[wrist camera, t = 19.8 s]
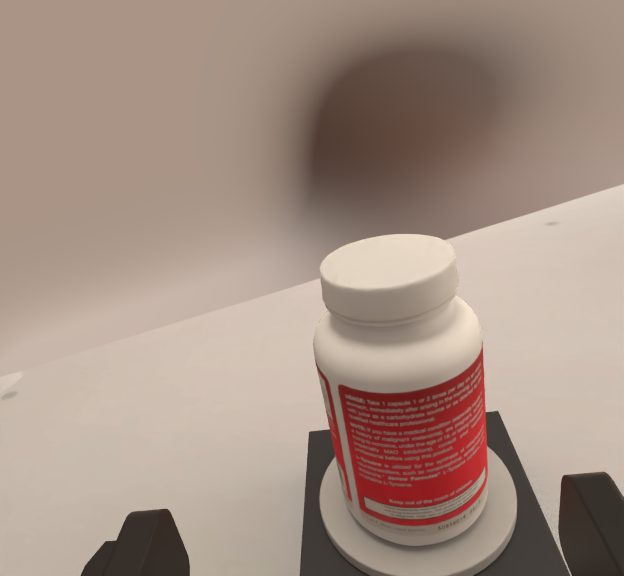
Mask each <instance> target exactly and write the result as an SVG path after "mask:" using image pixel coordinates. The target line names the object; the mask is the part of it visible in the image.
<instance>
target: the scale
mask: <svg viewBox="0 0 624 576" xmlns="http://www.w3.org/2000/svg"><path fill="white" fill-rule="evenodd" d="M485 414H486V437H487V459H488V495H487V500H486V503H485V506H484V508H483V510H482V512H481V514H480V515H479V517H478V518H477V519H476V521H475V522H474V523H473V524H472V525H471V526H470V527H469V528H468V529H466V530H465V531H464V532H462V533H461V534H459V535H457V536H455V537H453V538H451V539H449V540H446V541H443V542H440V543H436V544H430V545H423V546H407V545H402V544H397V543H394V542H390V541H388V540H385V539H383V538H381V537H379V536H377V535H375V534H373V533H372V532H370V531H369V530H367V529H366V528H365V527H364V526H362V525H361V524H360V523H359V522H358V520H357V519H356V518H355V517H354V516H353V514H352V513H351V511H350V509H349V508H348V505H347V503H346V500H345V497H344V494H343V490H342V485H341V481H340V476H339V471H338V467H337V462H336V456H335V451H334V446H333V441H332V437H331V432H330V430H321V431H311V432H309V441H308V457H307V472H306V487H305V503H304V518H303V534H302V549H301V565H300V576H570V574H569V572H568V569H567V567H566V565H565V563H564V560H563V558H562V556H561V553H560V551H559V549H558V547H557V544H556V542H555V540H554V537H553V535H552V533H551V531H550V528H549V526H548V524H547V521H546V519H545V517H544V515H543V512H542V510H541V508H540V505H539V503H538V501H537V499H536V496H535V494H534V492H533V490H532V487H531V485H530V483H529V480H528V478H527V476H526V474H525V471H524V469H523V467H522V464H521V462H520V460H519V458H518V455H517V453H516V451H515V448H514V446H513V444H512V442H511V439H510V437H509V435H508V432H507V430H506V428H505V426H504V423H503V421H502V419H501V416H500V414H499V412H498V411H494V412H485Z"/></svg>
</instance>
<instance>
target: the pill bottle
mask: <svg viewBox="0 0 624 576" xmlns="http://www.w3.org/2000/svg"><path fill="white" fill-rule="evenodd" d="M320 278H321V285H322V296H323V301H324V302H325V305H326V307H327V309H328V311H327V312H326V313H325V314H324V316H323V317H322V319H321V320H320V322H319V324H318V326H317V328H316V331H315V334H314V342H313V347H314V354H315V361H316V366H317V370H318V375H319V379H320V384H321V389H322V393H323V398H324V403H325V408H326V413H327V417H328V422H329V427H330V432H331V437H332V441H333V446H334V451H335V456H336V462H337V467H338V471H339V476H340V481H341V485H342V490H343V494H344V497H345V500H346V503H347V505H348V508H349V509H350V511H351V513H352V514H353V516H354V517H355V518H356V519H357V520H358V522H359V523H360V524H361V525H362V526H364V527H365V528H366V529H367V530H369V531H370V532H372V533H373V534H375V535H377V536H379V537H381V538H383V539H385V540H388V541H390V542H394V543H397V544H402V545H407V546H423V545H430V544H436V543H440V542H443V541H446V540H449V539H451V538H453V537H455V536H457V535H459V534H461V533H462V532H464V531H465V530H466V529H468V528H469V527H470V526H471V525H472V524H473V523H474V522H475V521H476V519H477V518H478V517H479V515H480V514H481V512H482V510H483V508H484V506H485V503H486V500H487V495H488V459H487V437H486V414H485V390H484V367H483V342H482V334H481V328H480V324H479V321H478V319H477V317H476V315H475V313H474V312H473V310H472V309H471V308H470V306H469V305H468V304H466V303H465V302H464V301H463V300H462V299H460V298H459V297H457V296H456V295H455V294H456V291H457V287H458V281H459V279H458V272H457V264H456V255H455V251H454V249H453V247H452V246H451V245H450V244H449V243H448V242H446V241H444V240H442V239H439V238H437V237H432V236H427V235H419V234H395V235H394V234H393V235H383V236H378V237H373V238H368V239H364V240H360V241H357V242H353V243H350V244H348V245H345V246H343V247H341V248H339V249H337V250H335V251H334V252H332V253H330V254H329V255H328V256H327V257H326V258H325V259H324V260H323V262H322V263H321V265H320Z"/></svg>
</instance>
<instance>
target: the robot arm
mask: <svg viewBox="0 0 624 576" xmlns="http://www.w3.org/2000/svg"><path fill="white" fill-rule="evenodd" d="M558 529H559V538H560V543H561V547H562V551H563V554H564V557H565V560H566V562H567V565H568V567H569V569H570V572H571V574H572V576H624V497H623V496H622V494H621V492H620V491H619V489H618V488H617V486H616V484H615V483H614V481H613V480H612V478H611V477H610V476H609V475H608V474H607V473H605V472H595V473H583V474H572V475H564V476H563V477H562V481H561V495H560V510H559V526H558ZM81 576H190V565H189V558H188V554H187V552H186V549H185V547H184V544H183V542H182V539H181V537H180V534H179V532H178V529H177V527H176V524H175V522H174V519H173V517H172V515H171V513H170V511H169V510H168V509H159V510H147V511H136V512H131V513H130V514H129V515H128V516H127V518H126V520H125V522H124V524H123V526H122V529H121V531H120V533H119V536H118V538H117V540H116V541H106V542H105V543H104V544H103V545H102V546H101V548H100V549H99V550H98V551H97V552H96V553H95V555H94V556H93V557H92V558H91V559H90V561H89V562H88V563H87V564H86V565H85V567H84V569H83V572H82V574H81Z"/></svg>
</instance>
